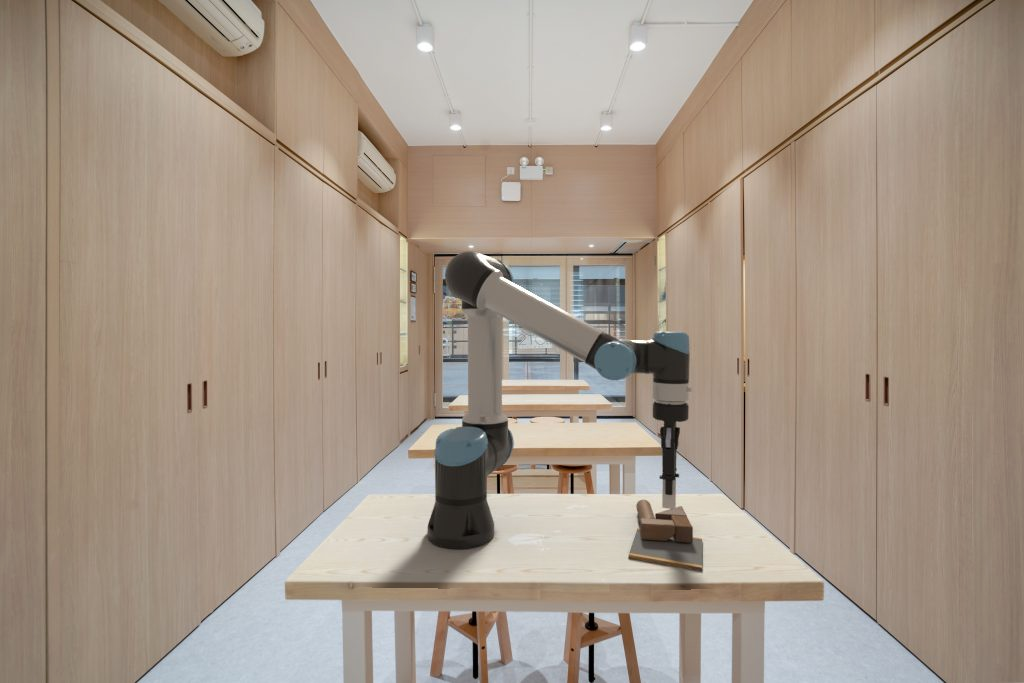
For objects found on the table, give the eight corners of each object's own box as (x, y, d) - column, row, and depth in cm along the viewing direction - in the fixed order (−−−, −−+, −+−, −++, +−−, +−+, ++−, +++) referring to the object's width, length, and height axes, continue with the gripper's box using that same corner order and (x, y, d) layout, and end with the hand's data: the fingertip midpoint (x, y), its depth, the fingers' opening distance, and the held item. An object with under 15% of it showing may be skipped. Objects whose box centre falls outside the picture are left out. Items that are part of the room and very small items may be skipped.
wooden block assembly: (693, 526, 104) (679, 500, 122) (641, 523, 106) (635, 498, 124) (693, 544, 104) (679, 515, 122) (641, 540, 106) (635, 512, 124)
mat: (628, 557, 100) (628, 554, 100) (637, 531, 113) (637, 528, 113) (701, 570, 94) (701, 567, 94) (702, 541, 107) (702, 538, 107)
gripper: (687, 407, 99) (685, 520, 100) (689, 398, 111) (687, 499, 112) (649, 404, 102) (648, 515, 103) (655, 396, 114) (654, 495, 115)
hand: (668, 507), depth 108 cm, fingers closed
